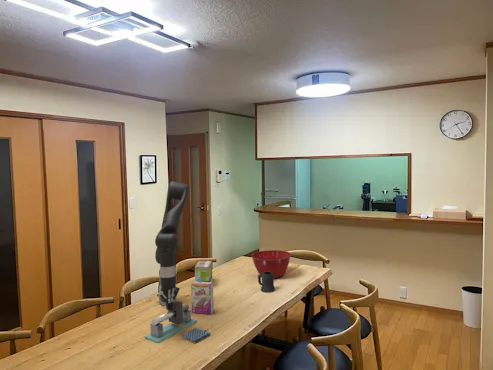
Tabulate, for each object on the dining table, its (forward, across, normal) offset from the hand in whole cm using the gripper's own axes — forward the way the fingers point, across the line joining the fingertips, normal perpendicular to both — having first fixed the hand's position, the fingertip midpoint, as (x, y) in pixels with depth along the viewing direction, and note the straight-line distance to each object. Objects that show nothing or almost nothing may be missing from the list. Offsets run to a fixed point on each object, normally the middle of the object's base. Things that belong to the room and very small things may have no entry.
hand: (169, 309), depth 176 cm
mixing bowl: (+10, -100, -2) cm, 100 cm away
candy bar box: (+11, -25, -1) cm, 27 cm away
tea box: (+11, -60, -31) cm, 68 cm away
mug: (+10, -73, +10) cm, 74 cm away
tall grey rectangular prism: (+7, -4, 0) cm, 8 cm away
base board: (+10, -1, 0) cm, 10 cm away
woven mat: (+11, -2, +15) cm, 19 cm away
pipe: (+10, -1, 0) cm, 10 cm away
